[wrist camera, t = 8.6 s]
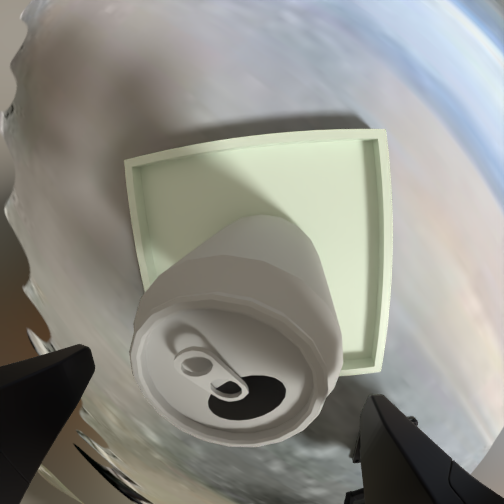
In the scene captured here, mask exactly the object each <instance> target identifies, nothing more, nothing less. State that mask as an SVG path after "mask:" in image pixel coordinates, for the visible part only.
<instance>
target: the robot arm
mask: <svg viewBox="0 0 504 504" xmlns="http://www.w3.org/2000/svg"><path fill="white" fill-rule="evenodd" d="M94 371H95V364H94V360H93V357H92V353H91V350H90V348H89V347H87V346H84V345H82V344H77V345H74V346H71V347H68V348H64V349H61V350H58V351H54V352H51V353H47V354H44V355H41V356H37V357H34V358H30V359H27V360H23V361H19V362H16V363H12V364H8V365H5V366H1V367H0V504H20V502H21V500H22V498H23V496H24V494H25V492H26V490H27V489H28V487H29V485H30V483H31V481H32V479H33V477H34V476H35V474H36V472H37V470H38V468H39V467H40V465H41V463H42V461H43V460H44V458H45V456H46V455H47V453H48V451H49V449H50V448H51V446H52V444H53V443H54V441H55V439H56V438H57V436H58V435H59V433H60V431H61V430H62V428H63V427H64V425H65V423H66V422H67V420H68V419H69V417H70V415H71V414H72V412H73V411H74V409H75V408H76V406H77V404H78V402H79V401H80V399H81V397H82V395H83V393H84V391H85V389H86V387H87V385H88V383H89V381H90V379H91V377H92V375H93V373H94ZM417 425H418V421H417V420H416V419H414V420H410V419H408V418H407V417H406V416H405V415H404V414H403V413H402V412H401V411H400V410H399V409H398V408H397V407H396V406H395V405H393V404H392V403H391V402H390V401H389V400H388V399H387V398H386V397H385V396H384V395H382V394H372V395H370V396H369V397H368V398H367V401H366V403H365V405H364V408H363V410H362V412H361V416H360V432H359V435H358V440H357V443H356V447H355V451H354V455H353V458H352V460H353V463H361V469H362V477H363V487H364V488H361V489H358V490H355V491H350V492H347V493H346V498H345V501H344V504H504V498H502V497H501V496H500V495H498V494H496V493H495V492H494V491H492V490H491V489H489V488H488V487H486V486H485V485H483V484H482V483H481V482H479V481H478V480H477V479H475V478H474V477H473V476H471V475H470V474H469V473H468V472H467V471H465V470H464V469H463V468H462V467H461V466H460V465H459V464H457V463H456V462H455V461H454V460H453V461H452V458H451V457H450V456H448V455H447V454H446V453H445V452H444V451H443V450H442V449H441V448H440V447H439V446H438V445H437V444H435V443H434V442H433V441H432V440H431V439H430V438H429V437H428V436H427V435H426V434H425V433H424V432H422V431H421V430H420V429H419V428H418V427H417Z"/></svg>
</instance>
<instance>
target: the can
mask: <svg viewBox="0 0 504 504" xmlns="http://www.w3.org/2000/svg"><path fill="white" fill-rule="evenodd" d="M129 353H130V360H131V367H132V374H133V376H134V378H135V380H136V382H137V384H138V386H139V388H140V390H141V392H142V394H143V396H144V397H145V399H146V400H147V401H148V402H149V403H150V404H151V405H152V407H153V408H154V409H155V410H156V411H157V412H158V413H159V414H160V415H161V416H162V417H163V418H165V419H166V420H167V421H169V422H170V423H171V424H173V425H174V426H176V427H177V428H179V429H180V430H182V431H184V432H186V433H188V434H190V435H192V436H195V437H197V438H199V439H202V440H204V441H207V442H212V443H216V444H220V445H225V446H230V447H258V446H263V445H268V444H273V443H277V442H281V441H283V440H285V439H287V438H289V437H291V436H293V435H295V434H297V433H299V432H301V431H303V430H304V429H305V428H306V427H307V426H308V425H309V424H310V423H311V422H312V421H313V420H314V419H315V418H316V417H317V416H318V415H319V414H320V412H321V409H322V407H323V404H324V402H325V399H326V397H327V396H328V395H329V394H330V393H331V391H332V390H333V389H334V387H335V385H336V382H337V379H338V377H339V374H340V371H341V368H342V366H343V346H342V333H341V329H340V326H339V322H338V318H337V315H336V311H335V308H334V304H333V301H332V297H331V294H330V290H329V287H328V284H327V280H326V277H325V274H324V270H323V267H322V264H321V261H320V257H319V255H318V253H317V251H316V249H315V247H314V245H313V243H312V241H311V239H310V238H309V237H308V236H307V235H306V234H305V233H304V232H303V231H302V230H301V229H300V228H299V227H298V226H297V225H295V224H293V223H291V222H289V221H287V220H285V219H283V218H281V217H277V216H270V215H263V214H259V215H253V216H247V217H242V218H240V219H238V220H236V221H234V222H233V223H231V224H229V225H227V226H225V227H224V228H223V229H221V230H220V231H218V232H217V233H216V234H214V235H213V236H212V237H210V238H209V239H207V240H206V241H205V242H203V243H202V244H201V245H199V246H198V247H197V248H195V249H194V250H192V251H191V252H190V253H188V254H187V255H186V256H184V257H183V258H182V259H180V260H179V261H178V262H176V263H175V264H174V265H172V266H171V267H170V268H168V269H167V270H166V271H164V272H163V273H162V274H160V275H159V276H158V277H157V278H156V280H155V281H154V282H153V283H152V285H151V286H150V287H149V288H148V290H147V291H146V292H145V293H144V295H143V296H142V297H141V299H140V302H139V306H138V309H137V313H136V317H135V321H134V335H133V339H132V343H131V347H130V351H129Z"/></svg>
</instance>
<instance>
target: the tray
mask: <svg viewBox="0 0 504 504" xmlns="http://www.w3.org/2000/svg"><path fill="white" fill-rule="evenodd" d="M124 167H125V177H126V186H127V194H128V202H129V209H130V216H131V223H132V229H133V235H134V241H135V247H136V252H137V257H138V263H139V267H140V272H141V277H142V282H143V286H144V291H145V292H146V291H147V290H148V288H149V287H150V286H151V285H152V283H153V282H154V281H155V280H156V278H157V277H158V276H159V275H160V274H162V273H163V272H164V271H166V270H167V269H168V268H170V267H171V266H172V265H174V264H175V263H176V262H178V261H179V260H180V259H182V258H183V257H184V256H186V255H187V254H188V253H190V252H191V251H192V250H194V249H195V248H197V247H198V246H199V245H201V244H202V243H203V242H205V241H206V240H207V239H209V238H210V237H212V236H213V235H214V234H216V233H217V232H218V231H220V230H221V229H223V228H224V227H225V226H227V225H229V224H231V223H233V222H234V221H236V220H238V219H240V218H242V217H247V216H253V215H259V214H263V215H270V216H277V217H281V218H283V219H285V220H287V221H289V222H291V223H293V224H295V225H297V226H298V227H299V228H300V229H301V230H302V231H303V232H304V233H305V234H306V235H307V236H308V237H309V238H310V239H311V241H312V243H313V245H314V247H315V249H316V251H317V253H318V255H319V257H320V261H321V264H322V267H323V270H324V274H325V277H326V280H327V284H328V287H329V290H330V294H331V297H332V301H333V304H334V308H335V311H336V315H337V318H338V322H339V326H340V329H341V333H342V346H343V366H342V368H341V371H340V374H339V376H349V375H358V374H367V373H375V372H381V368H382V362H383V355H384V349H385V341H386V334H387V325H388V316H389V306H390V294H391V278H392V252H393V216H392V190H391V175H390V163H389V152H388V143H387V135H386V129H332V130H311V131H296V132H283V133H273V134H263V135H254V136H246V137H238V138H231V139H224V140H218V141H211V142H205V143H200V144H194V145H189V146H184V147H178V148H173V149H169V150H164V151H159V152H155V153H151V154H146V155H142V156H138V157H134V158H130V159H126V160H124Z"/></svg>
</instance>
